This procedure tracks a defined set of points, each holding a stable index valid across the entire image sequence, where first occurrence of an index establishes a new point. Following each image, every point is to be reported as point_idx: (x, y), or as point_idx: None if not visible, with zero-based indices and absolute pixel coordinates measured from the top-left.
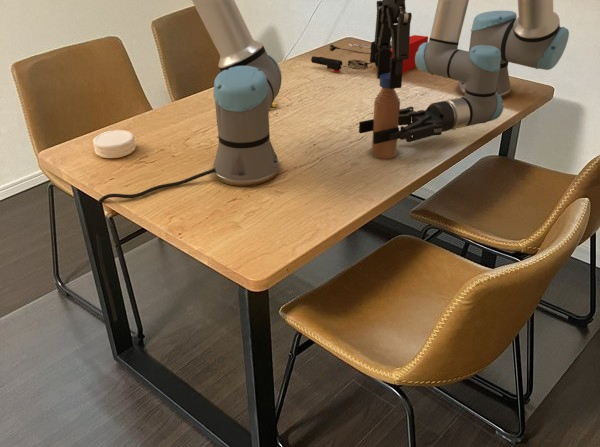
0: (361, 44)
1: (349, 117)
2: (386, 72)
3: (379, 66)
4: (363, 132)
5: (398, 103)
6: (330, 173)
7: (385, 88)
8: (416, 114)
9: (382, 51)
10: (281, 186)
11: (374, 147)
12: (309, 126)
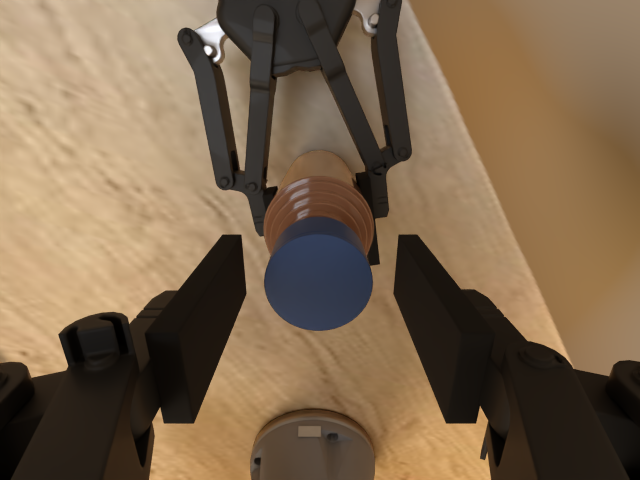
0: None
1: (59, 188)
2: (235, 266)
3: (229, 334)
4: None
5: (358, 197)
6: (375, 330)
7: None
8: (272, 56)
9: (191, 401)
10: (391, 417)
11: None
12: (114, 305)
